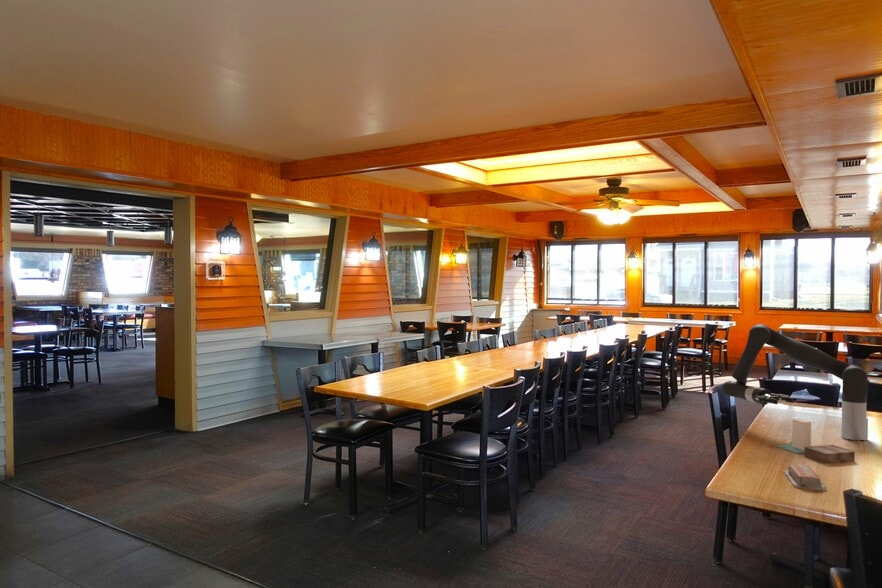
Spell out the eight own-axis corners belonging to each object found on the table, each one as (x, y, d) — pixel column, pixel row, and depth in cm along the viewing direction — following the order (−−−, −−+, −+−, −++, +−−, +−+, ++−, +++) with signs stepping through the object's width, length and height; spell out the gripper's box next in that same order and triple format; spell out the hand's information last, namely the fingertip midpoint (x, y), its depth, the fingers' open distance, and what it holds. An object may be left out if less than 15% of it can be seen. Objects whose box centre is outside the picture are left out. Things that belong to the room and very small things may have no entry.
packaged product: (827, 478, 198) (794, 475, 201) (827, 492, 198) (794, 489, 201) (813, 463, 215) (783, 460, 218) (813, 475, 215) (783, 472, 218)
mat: (803, 444, 254) (803, 443, 254) (825, 451, 243) (825, 450, 243) (776, 446, 251) (776, 445, 251) (797, 454, 240) (797, 452, 240)
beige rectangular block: (798, 445, 250) (799, 418, 250) (810, 449, 244) (811, 421, 244) (792, 446, 249) (792, 418, 249) (803, 450, 244) (804, 422, 243)
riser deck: (832, 454, 240) (832, 444, 240) (854, 461, 230) (854, 451, 230) (804, 456, 237) (804, 446, 237) (825, 464, 227) (825, 453, 227)
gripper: (745, 388, 275) (771, 394, 259) (770, 386, 278) (798, 392, 262) (745, 404, 275) (772, 410, 259) (770, 402, 278) (798, 408, 262)
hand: (785, 401), depth 261 cm, fingers open, 8 cm apart
